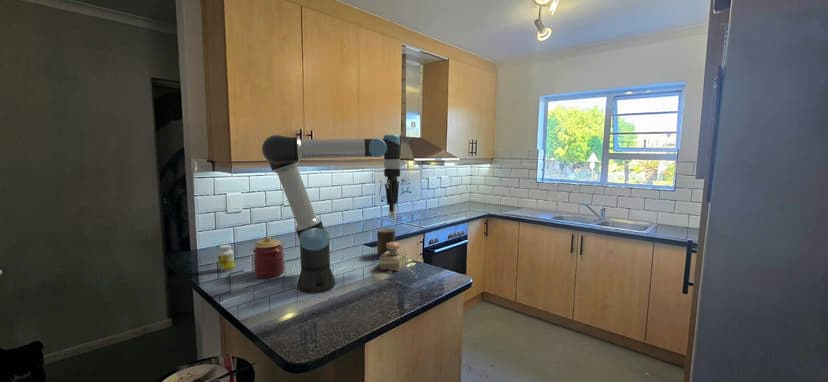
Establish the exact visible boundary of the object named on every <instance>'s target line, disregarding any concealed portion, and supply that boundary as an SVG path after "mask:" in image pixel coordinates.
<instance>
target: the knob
mask: <svg viewBox="0 0 828 382" xmlns="http://www.w3.org/2000/svg"><path fill="white" fill-rule="evenodd" d="M386 248H387V249H389V256H395V257H396V256H397V252H398V251H397V250H398V249H400V242H398V241H395V242H388V243H386Z"/></svg>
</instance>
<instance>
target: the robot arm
mask: <svg viewBox="0 0 828 382" xmlns="http://www.w3.org/2000/svg"><path fill="white" fill-rule="evenodd" d="M400 139H401V138H400V136H399V135H398V134H385V135H383V138H333V139H332V138H327V139H321V138H320V139H317V138H316V139H315V138H314V139H313V138H312V139H301V138H300V137H298V136H297V137H296V136H284V135H280V134H273V135H271V136H269V137H267V138H265V140H264V142H263V143H262V145H261V146H262V147H261V151H262V155H263V157H264V158H265V160H267V162H268V164H269V166H270V169H271V171H272V172H274V173H276V174H277V177H278V179H279V181H280V184H281V186H282V188H283V191H284V194H285V196H286V200H287V201H288V205H289V207H290V210H291V211H292V215H293V217H294V220H295V222H296V227H295V228H294V229H295V232H296V234H297V236H298V239H299V250H300V251H299V252H300V254H299V255H300V273H299V277H298V280H297V282H296V283H297V284H296V285H297V291H299V292H301V293H304V294H320V293H324V292H326V291H329V290H331V289H333V288H334V287H335V285H336V279H335V276H334V274H333V271H332V268H331V259H330V234H329V232H328V231H327V230H326V229H325V227H324V225H323V222H322V219H320V218H318V217H317V216H316V214H315V211H314V208H313V206H312V202H311V199H310V197H309V194H308V192H307V189H306V187H305V185H304V181H303V179H302V176H301V173H300V171H299V168H298V166H299V164H300V162H301V160H305V159H307V160H310V159H336V158H363V157H364V158H368V157H369V158H372V157H374V158H380V157H383V168H384V169H383V175H384V177H385V178H386V179H387V181H386V183H385V184H384V188H385V195H386V204H387V205H388V211H389V212H388V215H389V218H391V219H396V217H397V204H398V201H399V186H400V181H398V178H399V177H401V169H400V168H401V163H402V161H401V140H400Z"/></svg>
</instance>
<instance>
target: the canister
mask: <svg viewBox="0 0 828 382" xmlns="http://www.w3.org/2000/svg"><path fill="white" fill-rule="evenodd" d="M253 246H254V248H253V250H252V253H253V257H252V259H253V268H254V269H253V273H254V277H256V278H259V279H272V278H275V277H276V278H277V277H279V276H281V275H283V274H284V272H285V264H284V263H285V260H284V256H285V254H284V252H283V249H284V246H283V245H282V242H281V241H280V240H278V238H277V239H276V238H271V236H268V235H266V236H265V237H264V239H261V240H258V241H257V242H256V243H254V245H253Z"/></svg>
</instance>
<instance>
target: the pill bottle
mask: <svg viewBox="0 0 828 382" xmlns="http://www.w3.org/2000/svg"><path fill="white" fill-rule="evenodd" d="M219 250H220V251H219V252H218V253H217V257H218V270H219V271H220V272H223V271H225V272H230V270H231V271H233V270H234V269H235V254H234V252H235V251H233V250H232V245H231V244H223V245H220V246H219Z"/></svg>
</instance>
